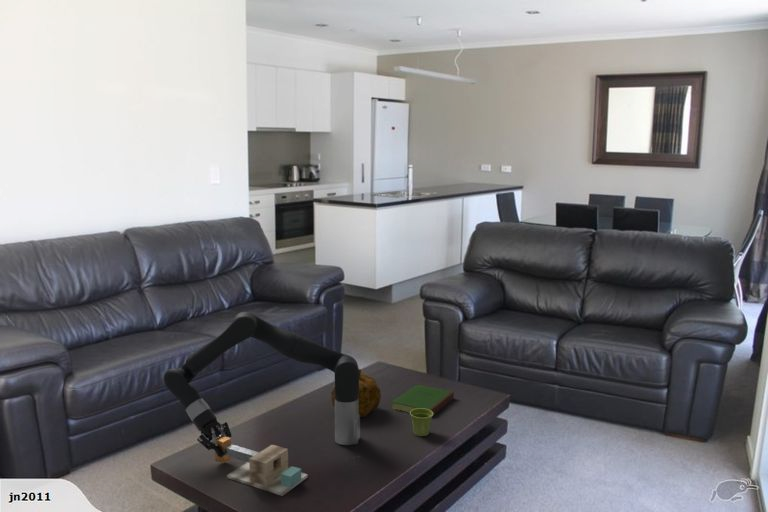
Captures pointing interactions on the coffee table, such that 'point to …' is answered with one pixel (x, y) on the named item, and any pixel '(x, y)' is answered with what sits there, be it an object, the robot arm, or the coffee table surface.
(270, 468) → the bearing block
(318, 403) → the coffee table surface
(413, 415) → the plant pot
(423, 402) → the hardcover book
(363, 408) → the decorative pumpkin
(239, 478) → the base board
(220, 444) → the shaft
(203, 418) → the robot arm
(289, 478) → the block
